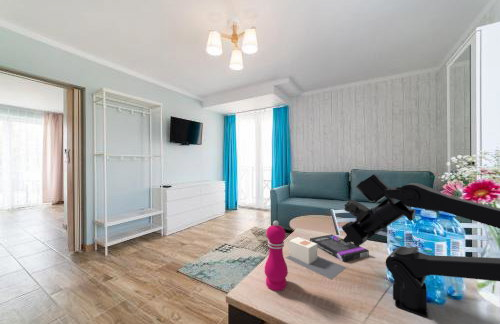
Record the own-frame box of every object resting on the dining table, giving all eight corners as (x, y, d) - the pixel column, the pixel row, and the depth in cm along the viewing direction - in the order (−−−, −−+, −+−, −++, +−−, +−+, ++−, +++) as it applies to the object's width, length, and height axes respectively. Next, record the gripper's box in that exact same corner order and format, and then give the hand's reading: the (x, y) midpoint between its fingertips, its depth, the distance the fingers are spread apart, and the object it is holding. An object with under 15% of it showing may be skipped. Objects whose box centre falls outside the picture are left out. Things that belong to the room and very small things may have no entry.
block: (317, 243, 76) (298, 236, 83) (308, 248, 72) (289, 240, 79) (317, 259, 76) (298, 251, 83) (308, 264, 72) (289, 255, 79)
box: (369, 258, 79) (331, 240, 97) (369, 250, 79) (332, 233, 97) (343, 265, 74) (309, 244, 92) (343, 255, 74) (309, 236, 92)
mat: (346, 268, 70) (346, 267, 70) (331, 280, 63) (331, 279, 63) (301, 250, 84) (301, 249, 84) (285, 258, 77) (285, 257, 77)
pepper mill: (274, 295, 56) (274, 225, 56) (259, 282, 62) (259, 219, 62) (292, 286, 60) (292, 221, 60) (277, 275, 66) (276, 216, 66)
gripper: (372, 190, 67) (340, 215, 76) (349, 196, 55) (313, 225, 63) (400, 218, 61) (362, 242, 70) (381, 231, 49) (337, 259, 57)
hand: (344, 240), depth 65 cm, fingers closed
